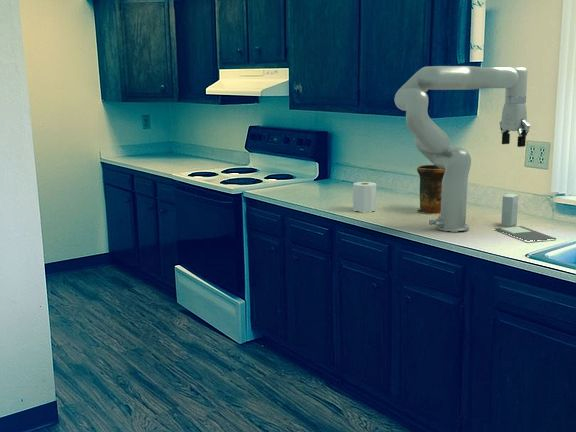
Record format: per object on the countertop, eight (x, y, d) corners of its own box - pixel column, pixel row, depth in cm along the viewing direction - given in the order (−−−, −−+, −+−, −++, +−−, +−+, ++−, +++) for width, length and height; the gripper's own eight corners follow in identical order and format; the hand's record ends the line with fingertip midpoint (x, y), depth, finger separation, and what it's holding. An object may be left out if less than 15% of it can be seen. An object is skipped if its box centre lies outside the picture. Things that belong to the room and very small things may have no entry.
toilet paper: (378, 212, 274) (378, 185, 271) (354, 213, 274) (354, 185, 271) (373, 207, 284) (374, 181, 281) (351, 208, 283) (351, 181, 281)
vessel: (442, 216, 265) (443, 169, 261) (411, 213, 273) (411, 167, 269) (455, 210, 276) (456, 165, 272) (425, 207, 284) (425, 163, 280)
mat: (527, 242, 223) (527, 240, 223) (494, 229, 242) (494, 228, 242) (556, 240, 226) (556, 238, 226) (521, 227, 245) (521, 225, 245)
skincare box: (506, 222, 253) (508, 193, 250) (516, 224, 250) (519, 194, 248) (500, 225, 248) (502, 195, 246) (511, 227, 246) (513, 197, 243)
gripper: (493, 100, 247) (491, 143, 251) (521, 101, 231) (519, 148, 235) (509, 99, 249) (507, 142, 253) (538, 101, 233) (536, 147, 237)
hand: (513, 145), depth 244 cm, fingers open, 9 cm apart
